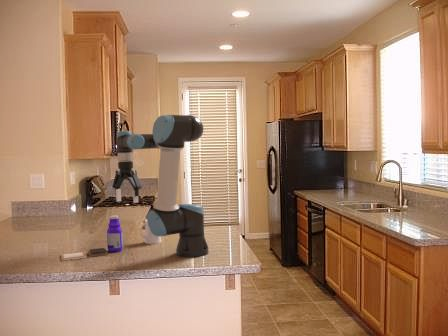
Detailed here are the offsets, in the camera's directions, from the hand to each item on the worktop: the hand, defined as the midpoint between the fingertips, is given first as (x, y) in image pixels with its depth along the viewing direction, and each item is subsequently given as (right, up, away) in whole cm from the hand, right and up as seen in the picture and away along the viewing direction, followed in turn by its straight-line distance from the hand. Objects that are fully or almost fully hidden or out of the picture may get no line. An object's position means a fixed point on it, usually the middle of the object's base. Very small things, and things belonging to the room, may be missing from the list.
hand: (127, 202), depth 235 cm
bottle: (-3, -23, -13) cm, 27 cm away
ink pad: (-10, -24, -18) cm, 31 cm away
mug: (+11, -22, +4) cm, 25 cm away
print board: (-21, -24, -21) cm, 38 cm away
